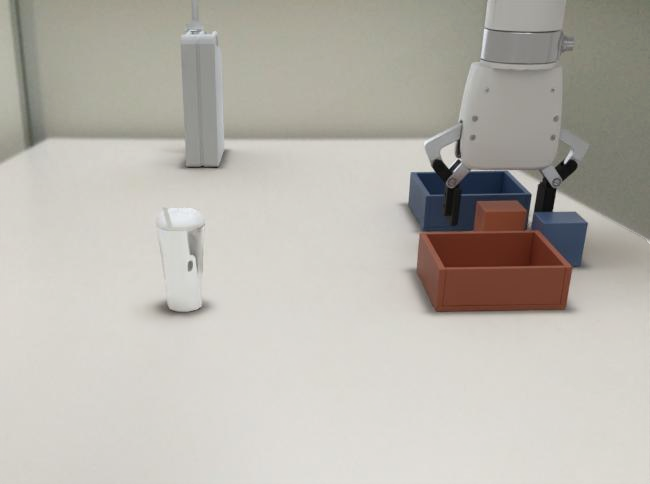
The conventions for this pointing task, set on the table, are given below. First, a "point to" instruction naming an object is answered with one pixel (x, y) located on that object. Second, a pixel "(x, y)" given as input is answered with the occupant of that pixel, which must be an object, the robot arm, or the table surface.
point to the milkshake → (182, 256)
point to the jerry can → (202, 94)
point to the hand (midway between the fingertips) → (495, 222)
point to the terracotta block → (499, 216)
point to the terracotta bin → (492, 271)
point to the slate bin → (462, 197)
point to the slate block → (563, 233)
